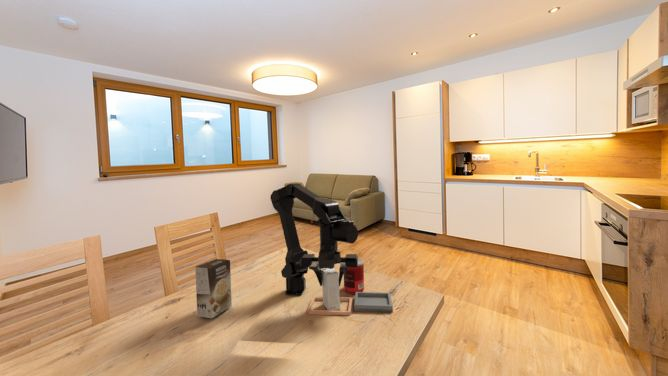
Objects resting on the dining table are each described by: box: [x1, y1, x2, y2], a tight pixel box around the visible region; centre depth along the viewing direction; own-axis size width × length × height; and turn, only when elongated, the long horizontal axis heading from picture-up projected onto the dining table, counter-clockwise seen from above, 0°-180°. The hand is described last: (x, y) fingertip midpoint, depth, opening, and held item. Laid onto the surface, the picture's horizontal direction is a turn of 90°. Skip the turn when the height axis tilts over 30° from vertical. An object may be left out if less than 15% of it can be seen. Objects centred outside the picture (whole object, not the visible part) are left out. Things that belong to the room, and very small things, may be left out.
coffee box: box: [195, 258, 233, 319], centre depth 90 cm, size 9×6×16 cm
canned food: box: [343, 258, 365, 295], centre depth 104 cm, size 8×8×11 cm
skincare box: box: [321, 268, 341, 311], centre depth 91 cm, size 6×4×12 cm
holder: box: [306, 296, 353, 316], centre depth 91 cm, size 14×11×1 cm
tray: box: [353, 291, 394, 313], centre depth 91 cm, size 12×10×2 cm
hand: (330, 286), depth 90 cm, fingers open, 6 cm apart
